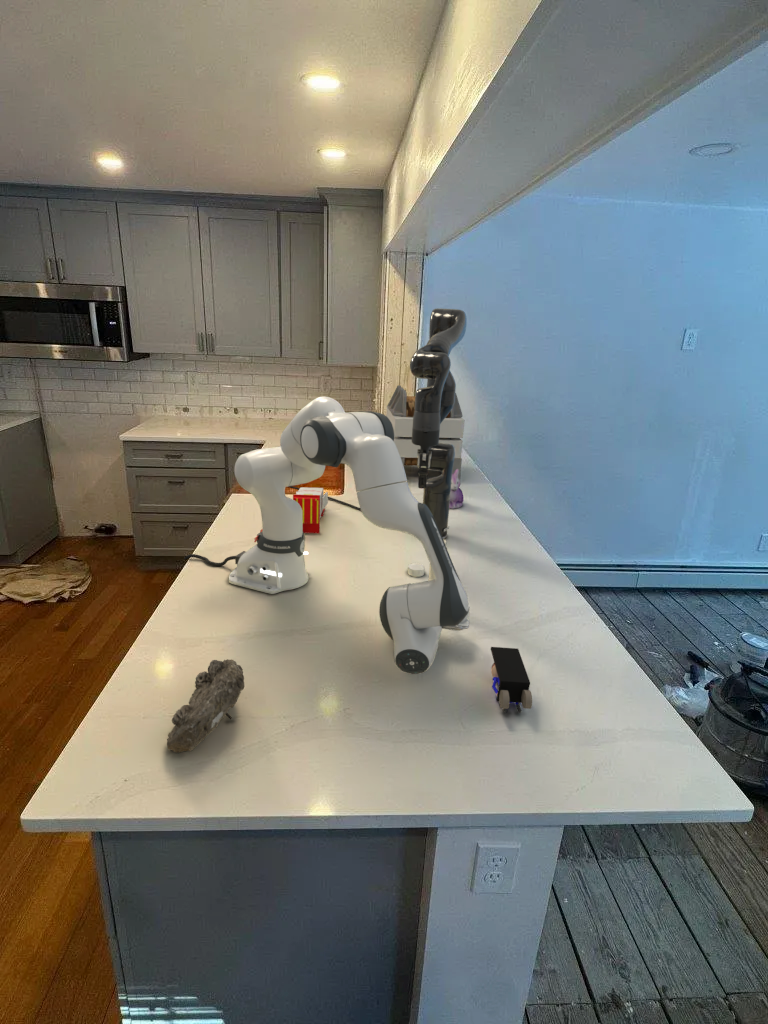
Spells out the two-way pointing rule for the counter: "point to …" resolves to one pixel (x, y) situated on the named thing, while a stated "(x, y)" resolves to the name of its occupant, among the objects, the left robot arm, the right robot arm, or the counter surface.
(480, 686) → the counter surface
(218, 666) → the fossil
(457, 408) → the transformer
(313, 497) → the toy
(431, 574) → the beige canister
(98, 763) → the counter surface
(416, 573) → the lid
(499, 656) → the figurine character
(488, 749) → the counter surface
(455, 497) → the figurine
